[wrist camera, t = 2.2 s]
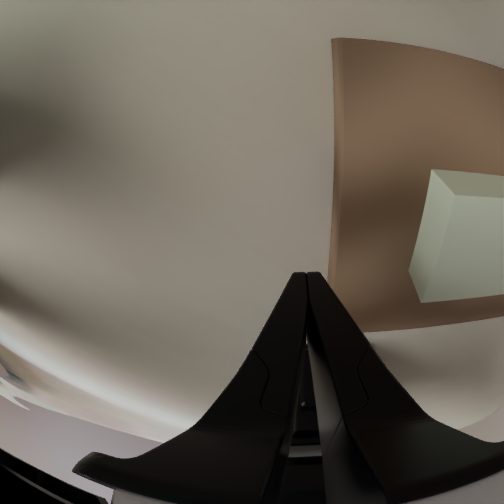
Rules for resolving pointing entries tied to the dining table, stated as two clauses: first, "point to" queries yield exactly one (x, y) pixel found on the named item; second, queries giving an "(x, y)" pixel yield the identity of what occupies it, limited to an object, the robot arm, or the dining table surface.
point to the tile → (460, 238)
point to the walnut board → (403, 171)
